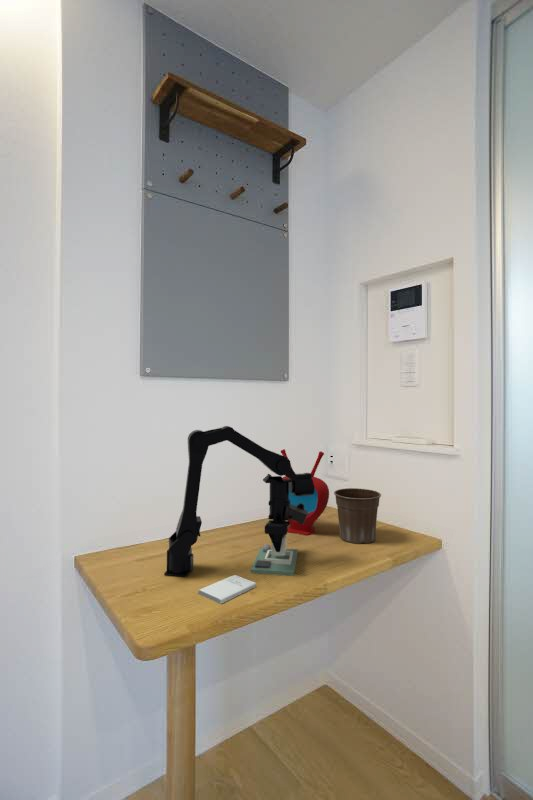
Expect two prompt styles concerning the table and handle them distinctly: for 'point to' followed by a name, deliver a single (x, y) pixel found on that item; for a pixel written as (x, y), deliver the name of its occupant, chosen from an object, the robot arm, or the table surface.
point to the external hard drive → (227, 589)
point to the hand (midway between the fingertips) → (278, 549)
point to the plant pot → (357, 514)
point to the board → (274, 562)
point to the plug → (283, 547)
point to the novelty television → (309, 502)
